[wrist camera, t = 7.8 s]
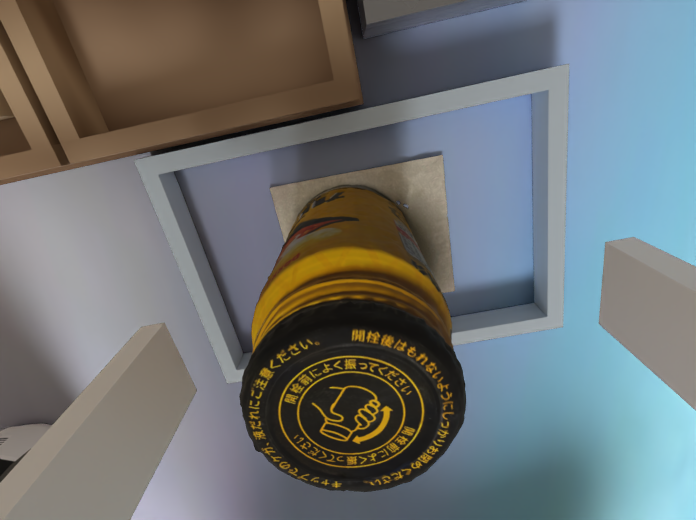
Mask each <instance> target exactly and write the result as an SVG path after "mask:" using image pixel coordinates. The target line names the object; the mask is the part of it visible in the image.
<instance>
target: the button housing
mask: <svg viewBox="0 0 696 520" xmlns="http://www.w3.org/2000/svg"><path fill="white" fill-rule="evenodd" d="M522 1H526V0H357V4H358V10H359V17H360V23H361V29H362V35H363V39H366V38H370V37H374V36H378V35H382V34H387V33H391V32H395V31H399V30H404V29H408V28H412V27H416V26H421V25H425V24H429V23H433V22H437V21H442V20H446V19H450V18H454V17H459V16H463V15H467V14H471V13H475V12H480V11H484V10H488V9H492V8H497V7H501V6H505V5H509V4H514V3H518V2H522Z"/></svg>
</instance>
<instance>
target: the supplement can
mask: <svg viewBox="0 0 696 520" xmlns="http://www.w3.org/2000/svg"><path fill="white" fill-rule="evenodd" d="M51 426H52V425H49V424H43V423H42V424H28V425H23V426H14V427H8V428H6V429H4V430H1V431H0V476H1V475H2V474H3V473H4V472H5V471H6V470H7V469H8V468H9V466H10V465H11V464H12V463H13V462H15V461H16V460H17V459H18V458H20V457H21V456H22V455H23V454H25V453H26V452H27V451H28V450H30V449H31V448H32V447H33V446H34V445H35V444H36V443H37V442H38V440H39V439H40V438H41V437H42V436H43V435H44V434H45V433H46V432H47V431H48V429H49V428H50V427H51Z"/></svg>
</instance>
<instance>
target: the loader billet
mask: <svg viewBox="0 0 696 520" xmlns="http://www.w3.org/2000/svg"><path fill="white" fill-rule="evenodd" d="M12 117H15V116H14V114H13V112H12V110H11V108H10V106H9V104H8V102H7V101H6V99H5V97H4V95H3V93H2V91H1V89H0V120H4V119H8V118H12Z"/></svg>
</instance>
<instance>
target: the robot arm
mask: <svg viewBox="0 0 696 520" xmlns="http://www.w3.org/2000/svg"><path fill="white" fill-rule="evenodd" d="M599 324H600V325H601V326H602V327H603V328H604V329H605V330H606V331H607V332H608V333H610V334H611V335H612V336H613V337H614V338H615V339H616V340H617V341H619V342H620V343H621V344H622V345H623V346H624V347H625V348H626V349H627V350H629V351H630V352H631V353H632V354H633V355H634V356H635V357H636V358H638V359H639V360H640V361H641V362H642V363H643V364H644V365H645V366H646V367H648V368H649V369H650V370H651V371H652V372H653V373H654V374H655V375H657V376H658V377H659V378H660V379H661V380H662V381H663V382H664V383H665V384H667V385H668V386H669V387H670V388H671V389H672V390H673V391H674V392H676V393H677V394H678V395H679V396H680V397H681V398H682V399H683V400H685V401H686V402H687V403H688V404H689V405H690V406H691V407H692V408H693V409H695V410H696V267H695V266H693V265H691V264H689V263H687V262H685V261H683V260H681V259H679V258H677V257H675V256H673V255H670V254H668V253H666V252H664V251H662V250H660V249H658V248H656V247H654V246H652V245H650V244H648V243H646V242H643V241H641V240H639V239H637V238H635V237H631V238H625V239H620V240H614V241H609V242H605V254H604V266H603V278H602V290H601V302H600V314H599ZM196 391H197V389H196V387H195V385H194V383H193V381H192V379H191V377H190V375H189V373H188V371H187V369H186V367H185V364H184V362H183V360H182V358H181V356H180V354H179V352H178V350H177V348H176V346H175V344H174V342H173V339H172V337H171V335H170V333H169V331H168V329H167V327H166V325H165V323H160V324H155V325H149V326H144V327H141V328H140V329H139V330H138V331H137V332H136V333H135V334H134V335H133V337H132V338H131V339H130V340H129V341H128V342H127V343H126V344H125V345H124V346H123V348H122V349H121V350H120V351H119V352H118V353H117V354H116V355H115V356H114V358H113V359H112V360H111V361H110V362H109V363H108V364H107V365H106V366H105V368H104V369H103V370H102V371H101V372H100V373H99V374H98V375H97V376H96V377H95V379H94V380H93V381H92V382H91V383H90V384H89V385H88V386H87V387H86V389H85V390H84V391H83V392H82V393H81V394H80V395H79V396H78V397H77V398H76V400H75V401H74V402H73V403H72V404H71V405H70V406H69V407H68V408H67V410H66V411H65V412H64V413H63V414H62V415H61V416H60V417H59V418H58V419H57V421H56V422H55V423H54V424H53V425H52V426H51V427H50V428H49V429H48V431H47V432H46V433H45V434H44V435H43V436H42V437H41V438H40V439H39V440H38V442H37V443H36V444H35V445H34V446H33V447H32V448H31V449H30V450H28V451H27V452H26V453H25V454H23V455H22V456H21V457H20V458H18V459H17V460H16V461H15V462H13V463H12V464H11V465H10V466H9V468H8V469H7V470H6V471H5V472H4V473H3V474H2V475H1V476H0V520H130V519H131V517H132V515H133V513H134V511H135V510H136V508H137V506H138V504H139V502H140V500H141V498H142V496H143V494H144V492H145V490H146V488H147V486H148V484H149V482H150V480H151V479H152V477H153V475H154V473H155V471H156V469H157V467H158V465H159V463H160V461H161V459H162V457H163V455H164V453H165V451H166V449H167V448H168V446H169V444H170V442H171V440H172V438H173V436H174V434H175V432H176V430H177V428H178V426H179V424H180V422H181V420H182V418H183V417H184V415H185V413H186V411H187V409H188V407H189V405H190V403H191V401H192V399H193V397H194V395H195V393H196Z"/></svg>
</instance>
